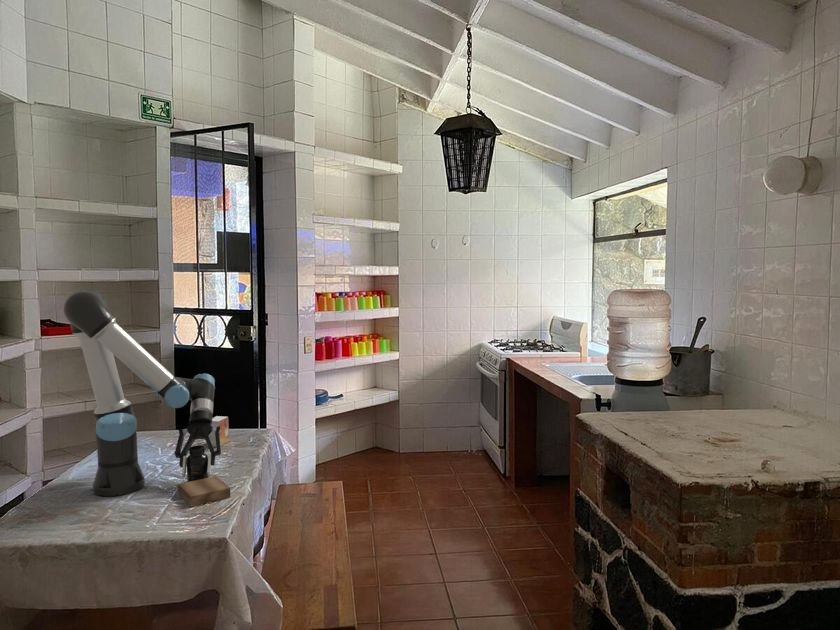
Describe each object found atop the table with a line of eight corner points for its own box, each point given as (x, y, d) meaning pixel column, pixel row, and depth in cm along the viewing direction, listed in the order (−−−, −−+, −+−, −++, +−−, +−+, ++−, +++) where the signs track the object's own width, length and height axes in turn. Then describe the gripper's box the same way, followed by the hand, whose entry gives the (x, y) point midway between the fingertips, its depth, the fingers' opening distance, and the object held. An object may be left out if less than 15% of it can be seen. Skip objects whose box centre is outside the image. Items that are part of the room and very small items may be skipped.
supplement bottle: (213, 480, 204) (212, 445, 203) (198, 487, 198) (197, 451, 197) (198, 477, 207) (196, 443, 206) (182, 484, 201) (181, 448, 200)
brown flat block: (191, 506, 183) (190, 496, 182) (178, 493, 193) (178, 484, 193) (230, 496, 190) (230, 487, 190) (216, 484, 200) (215, 476, 200)
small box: (219, 447, 241) (218, 421, 240) (206, 446, 242) (205, 420, 241) (229, 441, 248) (228, 416, 247) (217, 440, 250) (216, 415, 249)
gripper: (232, 418, 218) (229, 477, 204) (172, 421, 214) (165, 482, 199) (230, 407, 212) (227, 467, 198) (169, 410, 208) (161, 472, 194)
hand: (196, 474), depth 199 cm, fingers open, 7 cm apart
